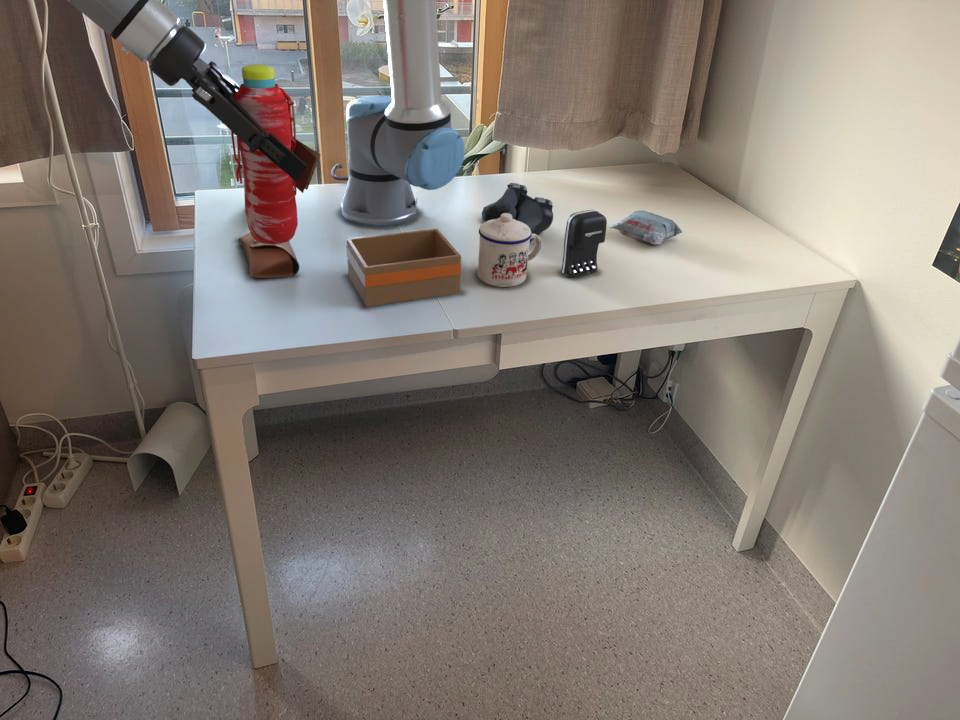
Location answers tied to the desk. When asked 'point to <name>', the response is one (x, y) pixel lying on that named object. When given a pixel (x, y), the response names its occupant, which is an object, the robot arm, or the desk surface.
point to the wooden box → (403, 267)
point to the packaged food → (647, 227)
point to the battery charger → (583, 242)
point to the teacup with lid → (505, 251)
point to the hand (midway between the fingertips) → (299, 163)
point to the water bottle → (263, 179)
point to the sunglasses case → (269, 258)
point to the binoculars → (522, 209)
